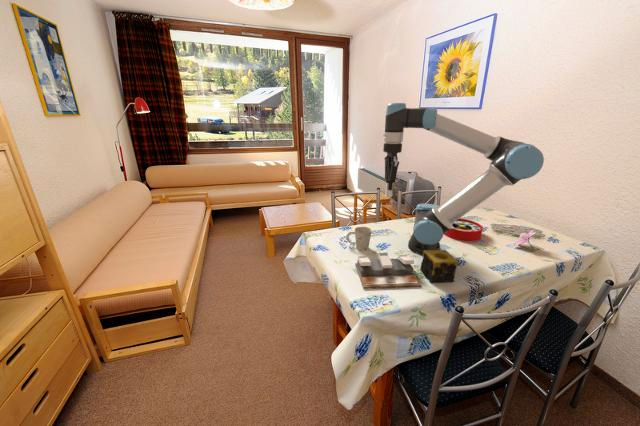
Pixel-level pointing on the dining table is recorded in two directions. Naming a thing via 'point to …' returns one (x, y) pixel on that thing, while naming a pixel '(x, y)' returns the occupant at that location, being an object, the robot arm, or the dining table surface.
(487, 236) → the dining table surface
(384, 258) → the rocker middle
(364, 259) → the block
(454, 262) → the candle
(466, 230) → the toy clock
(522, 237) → the lily
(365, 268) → the switch board
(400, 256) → the block
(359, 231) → the mug
